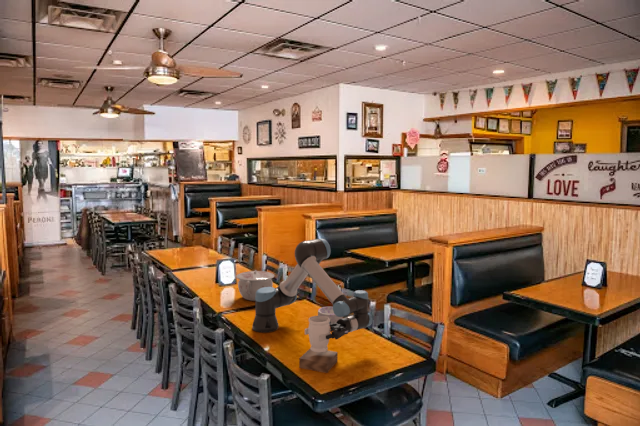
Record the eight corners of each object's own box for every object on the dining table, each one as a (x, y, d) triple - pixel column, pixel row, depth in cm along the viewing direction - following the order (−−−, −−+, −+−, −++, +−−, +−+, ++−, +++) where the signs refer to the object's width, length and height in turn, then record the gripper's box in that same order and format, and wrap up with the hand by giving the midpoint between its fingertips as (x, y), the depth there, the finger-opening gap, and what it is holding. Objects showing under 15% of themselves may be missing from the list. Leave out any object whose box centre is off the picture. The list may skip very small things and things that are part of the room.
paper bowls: (334, 329, 266) (334, 315, 265) (313, 324, 274) (313, 311, 273) (347, 321, 279) (347, 309, 278) (326, 317, 287) (326, 304, 286)
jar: (327, 354, 211) (328, 323, 210) (306, 352, 213) (306, 321, 212) (331, 345, 222) (332, 316, 220) (310, 344, 224) (311, 314, 222)
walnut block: (299, 368, 214) (299, 358, 214) (311, 357, 227) (311, 347, 227) (326, 373, 209) (327, 363, 209) (337, 361, 222) (337, 352, 222)
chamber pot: (261, 291, 345) (261, 264, 343) (282, 299, 324) (282, 270, 322) (228, 297, 327) (228, 269, 325) (248, 306, 306) (247, 276, 304)
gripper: (362, 339, 220) (328, 350, 206) (331, 326, 237) (297, 335, 223) (363, 323, 219) (328, 334, 205) (331, 312, 236) (297, 320, 222)
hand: (312, 335), depth 214 cm, fingers closed on jar, 10 cm apart
